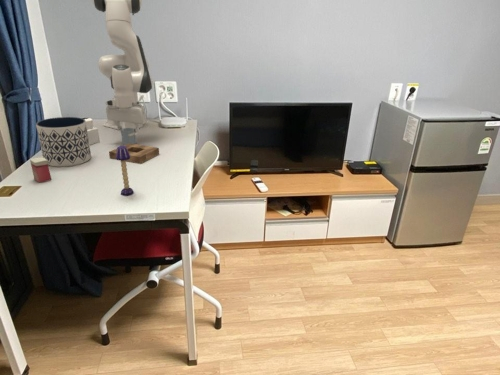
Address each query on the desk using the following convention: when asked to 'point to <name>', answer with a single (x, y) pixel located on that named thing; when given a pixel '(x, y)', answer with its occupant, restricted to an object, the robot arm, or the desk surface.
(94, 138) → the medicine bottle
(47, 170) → the small box
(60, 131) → the planter
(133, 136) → the key block
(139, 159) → the wooden socket board
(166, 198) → the desk surface
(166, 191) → the desk surface
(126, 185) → the toy lamp
